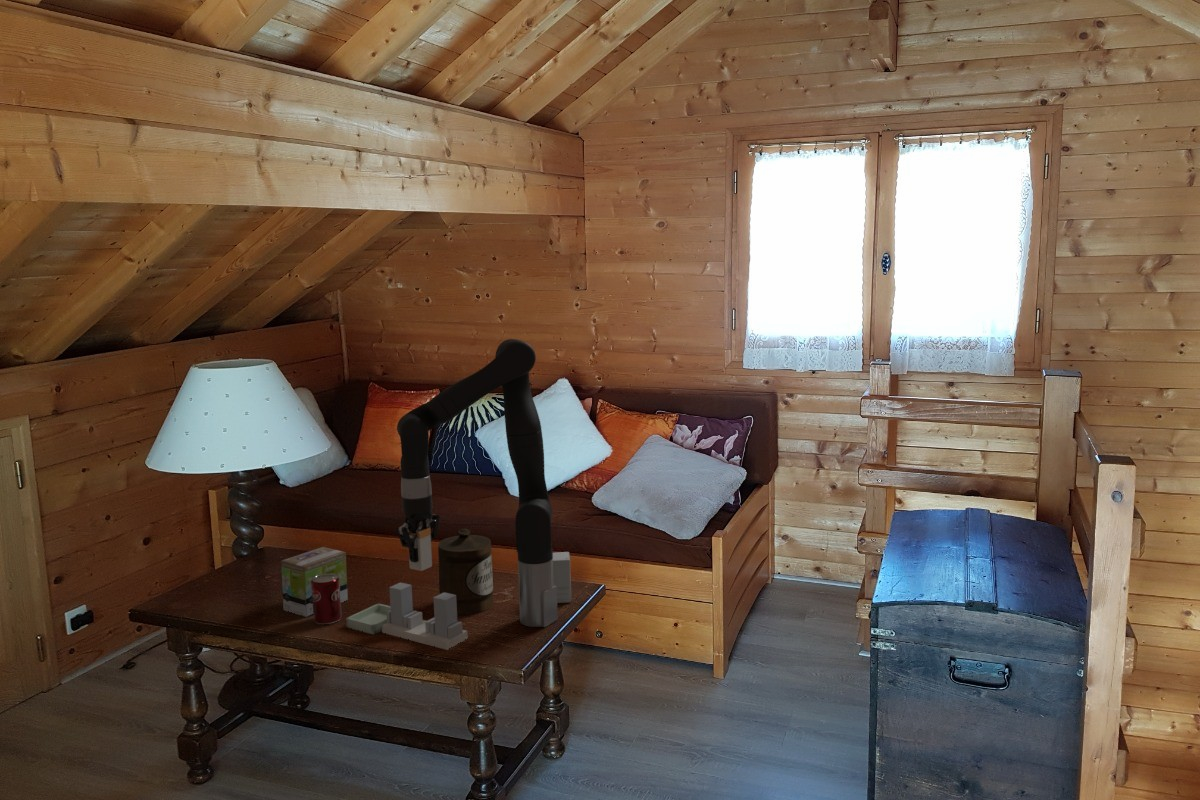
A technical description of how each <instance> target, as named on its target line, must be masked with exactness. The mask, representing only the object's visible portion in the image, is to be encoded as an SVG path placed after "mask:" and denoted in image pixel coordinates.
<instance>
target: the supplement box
mask: <svg viewBox="0 0 1200 800" xmlns="http://www.w3.org/2000/svg"><path fill="white" fill-rule="evenodd" d="M570 556H571V555H570V552H569V551H563V552H562V551H560V552H559V551H558V552H553V585H555V586H557V604H561V603H562V604H563V603H564V604H566V603H571V602H572V583H571V581H572V579H571V577H572V576H571V558H570Z"/></svg>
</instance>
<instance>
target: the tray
mask: <svg viewBox="0 0 1200 800" xmlns="http://www.w3.org/2000/svg"><path fill="white" fill-rule="evenodd" d="M390 610H391V607H390V605H387V604H382V603H376V604H373V605H371V606H370V607H367V608H365V609H362V610H361V611H359V612H357V613H354V614H352V615H350V616H348V617H346V618H345V627H346V628H347V627H348V628H349V629H351V628H352V630H355V631H358V630H359V632H362V631H363V633H366V634H369V635H376V634H379V633H380V632H382V625H384V624H386V623H387V615H386V612H388V611H390Z"/></svg>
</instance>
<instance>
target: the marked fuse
mask: <svg viewBox="0 0 1200 800" xmlns="http://www.w3.org/2000/svg"><path fill="white" fill-rule="evenodd" d="M410 534H411V535H414V536H415V535H416V534H414V533H411V532H410ZM418 535H419V539H418V546H417V548H418V560H419V561H418V562H411V561H410V559H409V558H408V559H409V560H408V562H409V565H408V566H409V569H411V570H416V571H420V572H422V571H424V570H427V569H429V568H432V567H433V557H432V555H433V554H432V542H431V530H430V528H429V529H424V530H421V532H419V533H418ZM413 541H414V539H413V538H412V543H413ZM407 549H408V550H409V548H408V547H407Z"/></svg>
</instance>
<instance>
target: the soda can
mask: <svg viewBox="0 0 1200 800" xmlns="http://www.w3.org/2000/svg"><path fill="white" fill-rule="evenodd" d="M311 589H312V603H313V614H312V616H313V621H314V622H315V624H317V625H320V624H329V625H333V624H335V622H336V623H338V622H339V621H340V620H341V619H342V617H343V616H342V603H341V598H340V583H339V577H338V576H337V575H335V574H321V575H318V576H315V577H313V579H312V580H311ZM337 621H338V622H337ZM332 623H333V624H332Z"/></svg>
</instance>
